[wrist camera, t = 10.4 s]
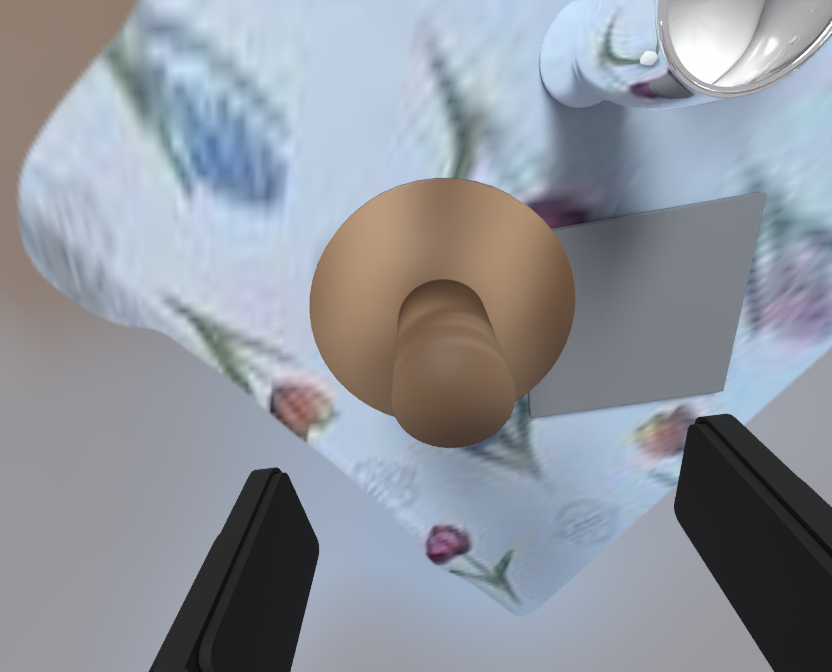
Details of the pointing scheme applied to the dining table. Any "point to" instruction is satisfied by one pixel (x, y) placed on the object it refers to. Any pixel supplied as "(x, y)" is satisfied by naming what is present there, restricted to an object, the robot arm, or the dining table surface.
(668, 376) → the mat
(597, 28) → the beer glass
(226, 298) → the dining table surface
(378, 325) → the lid
